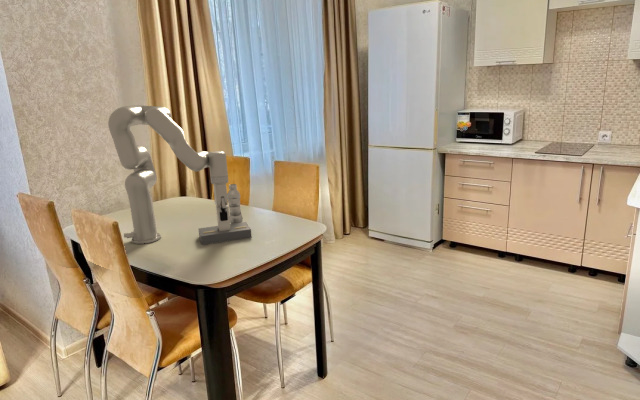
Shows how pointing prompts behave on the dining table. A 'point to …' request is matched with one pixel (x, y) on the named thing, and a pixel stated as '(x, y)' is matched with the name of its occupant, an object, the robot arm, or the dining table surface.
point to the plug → (223, 224)
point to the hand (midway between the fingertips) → (223, 218)
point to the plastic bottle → (234, 204)
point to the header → (224, 233)
